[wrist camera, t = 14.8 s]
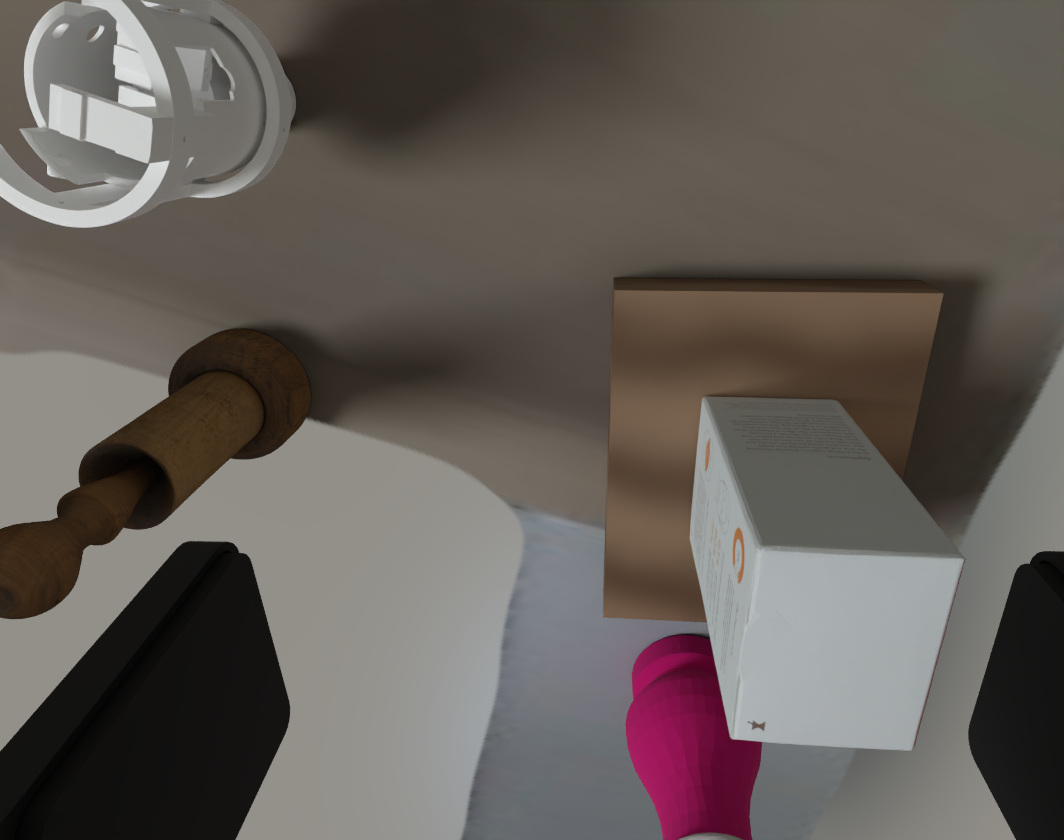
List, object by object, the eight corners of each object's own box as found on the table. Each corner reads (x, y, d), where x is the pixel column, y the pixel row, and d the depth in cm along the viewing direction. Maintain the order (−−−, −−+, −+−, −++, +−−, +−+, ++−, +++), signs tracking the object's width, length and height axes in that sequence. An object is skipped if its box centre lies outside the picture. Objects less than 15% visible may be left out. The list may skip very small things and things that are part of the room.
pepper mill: (600, 683, 45) (597, 1084, 27) (671, 606, 42) (724, 995, 24) (695, 737, 46) (755, 1159, 28) (771, 665, 43) (894, 1081, 25)
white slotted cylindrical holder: (323, 200, 35) (138, 267, 21) (178, 151, 34) (-106, 186, 21) (353, 41, 32) (162, -4, 18) (196, -15, 31) (-120, -103, 18)
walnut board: (613, 277, 35) (614, 290, 32) (920, 280, 33) (943, 293, 31) (603, 589, 42) (603, 617, 40) (855, 600, 41) (870, 630, 38)
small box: (815, 544, 37) (916, 758, 25) (687, 539, 37) (725, 745, 25) (841, 395, 33) (972, 557, 22) (700, 391, 34) (752, 548, 22)
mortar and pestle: (299, 325, 37) (58, 505, 21) (321, 440, 40) (123, 681, 23) (176, 330, 38) (-151, 506, 21) (206, 443, 40) (-65, 677, 24)
